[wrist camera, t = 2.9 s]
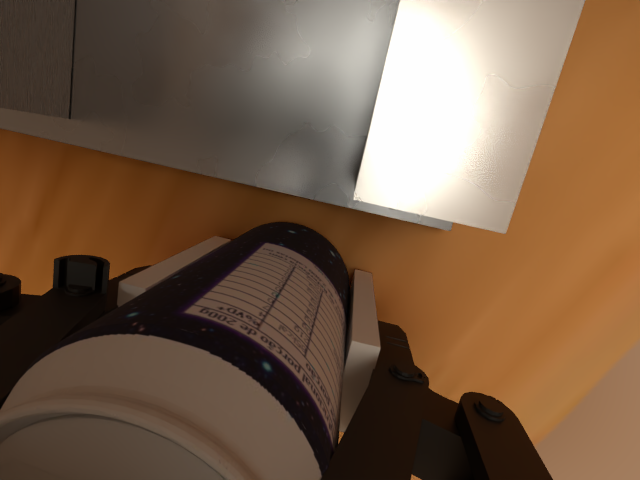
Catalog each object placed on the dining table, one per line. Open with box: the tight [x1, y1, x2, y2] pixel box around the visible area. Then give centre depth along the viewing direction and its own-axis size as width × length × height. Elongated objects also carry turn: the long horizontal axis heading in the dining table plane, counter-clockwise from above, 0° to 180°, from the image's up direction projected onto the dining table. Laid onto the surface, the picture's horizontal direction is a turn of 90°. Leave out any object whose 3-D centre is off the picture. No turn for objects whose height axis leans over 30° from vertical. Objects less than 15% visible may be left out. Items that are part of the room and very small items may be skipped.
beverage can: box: [0, 222, 350, 480], centre depth 10 cm, size 6×6×12 cm
